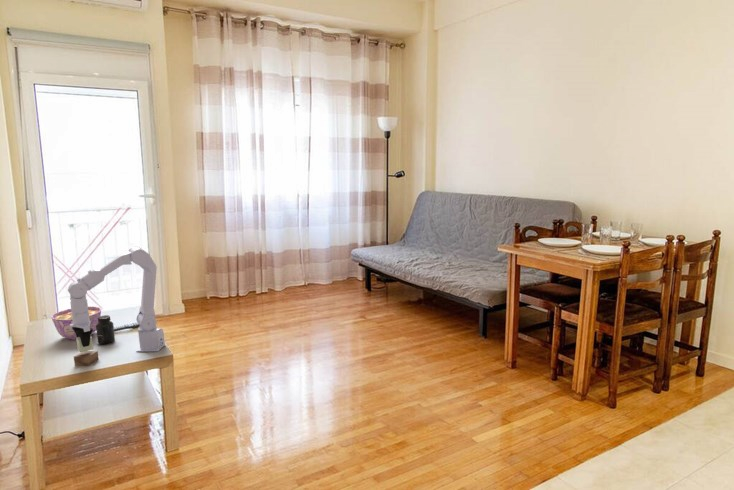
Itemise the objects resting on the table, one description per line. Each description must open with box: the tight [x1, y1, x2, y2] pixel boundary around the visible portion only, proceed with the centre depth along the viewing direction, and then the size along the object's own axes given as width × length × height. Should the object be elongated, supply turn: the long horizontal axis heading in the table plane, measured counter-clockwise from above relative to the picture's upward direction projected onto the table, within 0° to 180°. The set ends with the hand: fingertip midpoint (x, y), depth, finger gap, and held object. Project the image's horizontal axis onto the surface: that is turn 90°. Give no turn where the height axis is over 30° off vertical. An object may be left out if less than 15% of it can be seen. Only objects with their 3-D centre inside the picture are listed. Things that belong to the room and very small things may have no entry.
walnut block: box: [73, 350, 100, 367], centre depth 194 cm, size 6×6×4 cm
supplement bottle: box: [96, 314, 116, 346], centre depth 215 cm, size 7×7×12 cm
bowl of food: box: [50, 305, 102, 341], centre depth 223 cm, size 20×20×12 cm
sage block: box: [75, 336, 94, 353], centre depth 193 cm, size 4×4×5 cm
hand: (84, 344), depth 193 cm, fingers closed on sage block, 4 cm apart
